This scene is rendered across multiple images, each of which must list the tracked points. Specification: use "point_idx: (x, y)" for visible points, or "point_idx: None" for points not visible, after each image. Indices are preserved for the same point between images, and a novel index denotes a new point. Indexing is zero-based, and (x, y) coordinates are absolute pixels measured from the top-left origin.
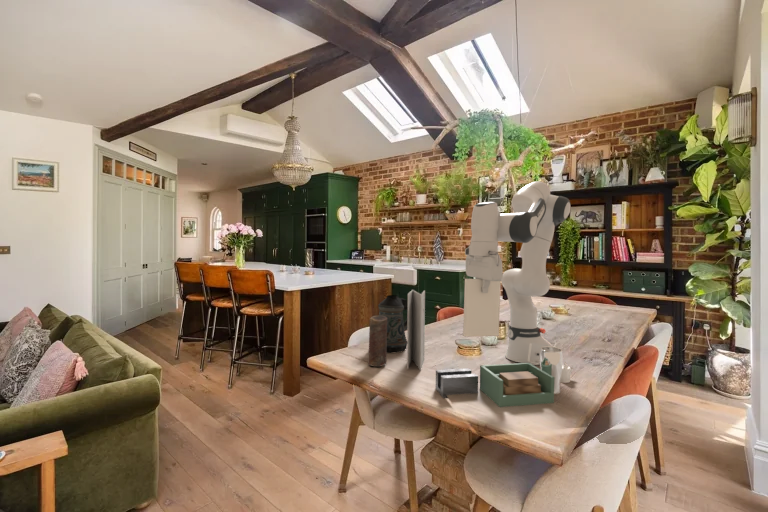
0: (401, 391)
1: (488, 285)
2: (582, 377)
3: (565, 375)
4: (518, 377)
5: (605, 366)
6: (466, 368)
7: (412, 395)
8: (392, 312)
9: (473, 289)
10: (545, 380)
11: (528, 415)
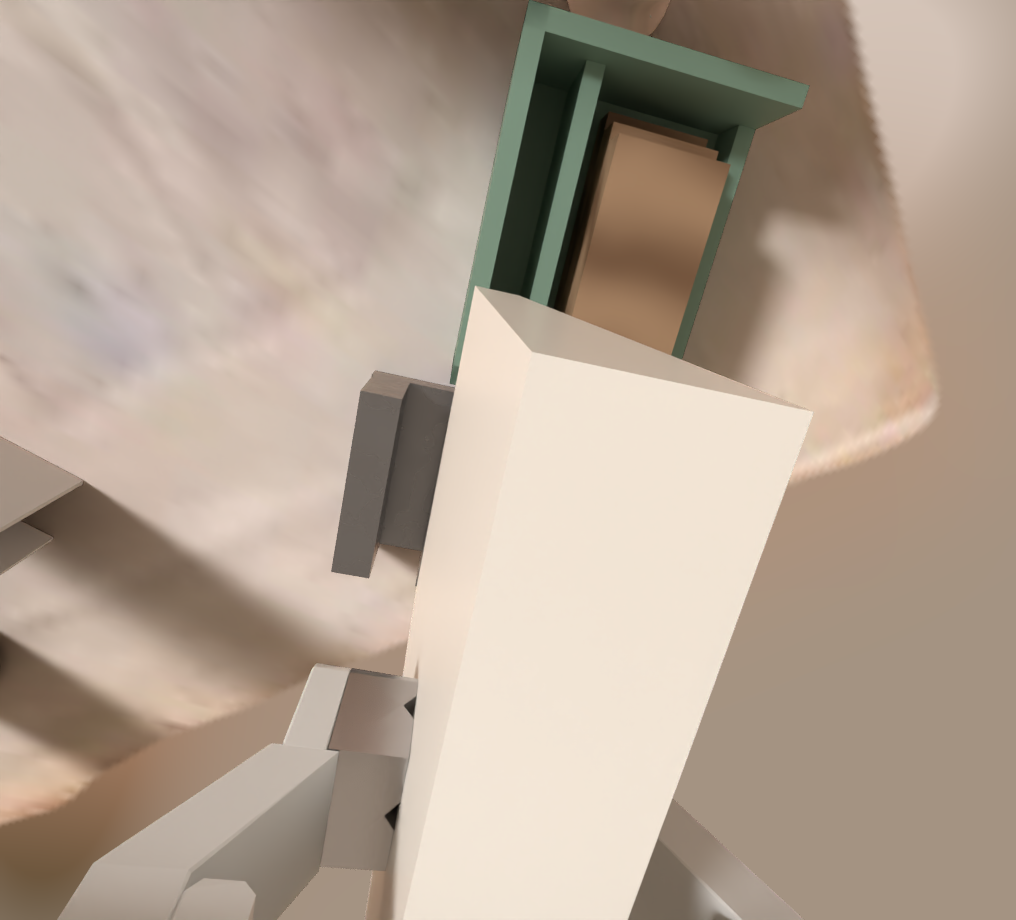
0: (331, 664)
1: (722, 870)
2: None
3: None
4: (671, 277)
5: None
6: (360, 405)
7: (384, 642)
8: None
9: None
10: (728, 102)
11: (736, 321)
